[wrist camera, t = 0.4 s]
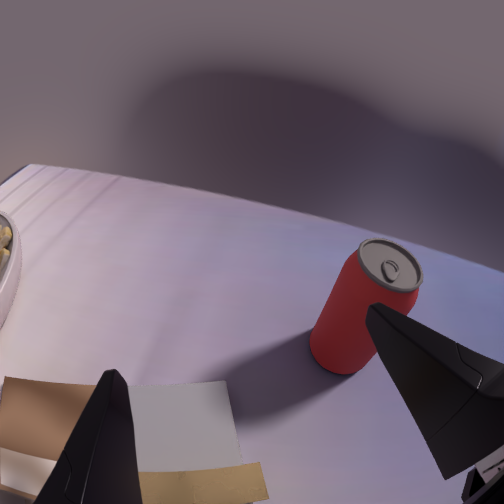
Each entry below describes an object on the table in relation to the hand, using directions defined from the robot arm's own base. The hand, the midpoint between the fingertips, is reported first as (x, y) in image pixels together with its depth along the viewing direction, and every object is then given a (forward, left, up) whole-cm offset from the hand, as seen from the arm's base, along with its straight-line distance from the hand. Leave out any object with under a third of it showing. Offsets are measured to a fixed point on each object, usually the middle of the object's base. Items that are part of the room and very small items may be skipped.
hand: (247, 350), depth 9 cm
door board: (-4, +15, -16) cm, 22 cm away
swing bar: (-4, +5, -14) cm, 15 cm away
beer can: (+7, -12, -16) cm, 21 cm away
